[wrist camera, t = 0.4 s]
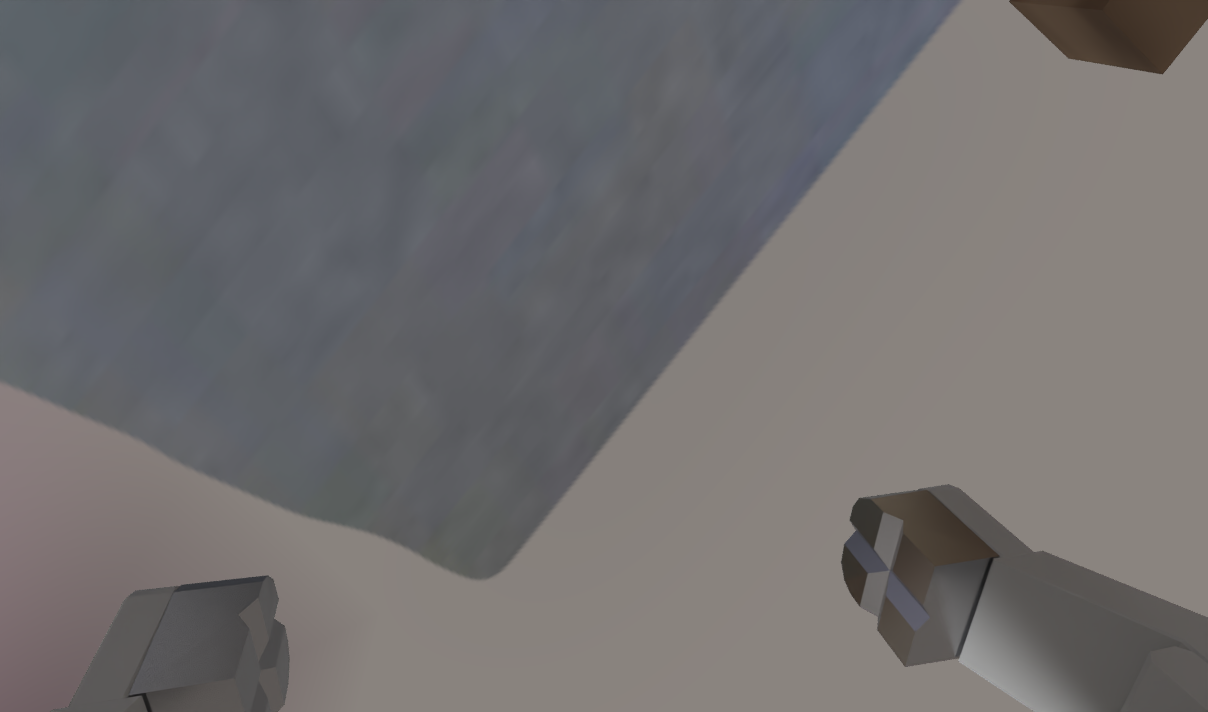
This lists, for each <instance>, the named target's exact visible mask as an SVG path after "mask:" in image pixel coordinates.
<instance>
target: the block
mask: <svg viewBox="0 0 1208 712" xmlns="http://www.w3.org/2000/svg"><path fill="white" fill-rule="evenodd" d="M1009 2H1010V3H1011V4H1012V5H1013V6H1014V7H1015V8H1016V9H1017V10H1019V11H1020V12H1021V13H1022V14H1023V15H1024V16H1025V17H1026V18H1027V19H1028V20H1029V21H1030V22H1031V23H1032V24H1033V25H1034V26H1035V27H1036V28H1037V29H1038V30H1039V31H1040V32H1041V33H1043V34H1044V35H1045V36H1046V37H1047V38H1048V39H1049V40H1050V41H1051V42H1052V43H1053V44H1054V45H1055V46H1056V47H1057V48H1058V49H1059V50H1060V51H1061V52H1062V53H1063V54H1064V55H1066V56H1067V57H1068V58H1069V59H1075V60H1081V61H1087V62H1093V63H1099V64H1105V65H1112V66H1117V67H1122V68H1128V69H1134V70H1140V71H1146V72H1153V73H1158V74H1163V73H1164V72H1165V71H1166V70H1167V68H1168V67H1169V66H1170V65H1171V63H1172V62H1173V61H1174V60H1175V58H1176V57H1177V56H1178V55H1179V54H1180V52H1181V51H1182V50H1183V48H1184V47H1185V46H1186V45H1187V44H1188V42H1189V41H1190V40H1191V39H1192V37H1193V36H1194V35H1195V34H1196V33H1197V31H1198V30H1199V28H1201V26H1202V25H1203V24H1204V22H1205V21H1206V20H1207V19H1208V0H1010V1H1009Z"/></svg>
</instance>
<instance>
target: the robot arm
mask: <svg viewBox="0 0 1208 712" xmlns="http://www.w3.org/2000/svg"><path fill="white" fill-rule="evenodd" d="M850 521H851V523H852V525H853V526H854V528H855V529H856V531H855V532H854V534H853V535H852V536H851V537H850V538H849V539H848V540H847V541H846V543H845V544H844V549H843V554H842V561H841V564H842V570H843V575H844V581H845V583H846V585H847V587H848V589H849V592H850V593H851V595H852V597H853V598H854V599H855V601H856V602H857V604H858V605H859V606H860V607H861V608H863V609H865V610H867V611H869V612H870V613H872V614H874V615H876V616H877V617H878V627H877V629H878V632H879V633H880V634H881V636H882V637H883V638H884V640H885V641H886V642H887V644H888V645H889V646H890V648H891V649H892V650H893V652H895V654H896V655H897V657H898V658H899V659H900V661H901V662H902V663H903V665H904V666H905V667H908V666H914V665H920V664H926V663H932V662H938V661H945V660H950V659H957V658H959V662H960V663H962V664H963V665H965V666H966V667H968V668H969V669H971V670H972V671H974V672H975V673H977V674H978V675H980V676H981V677H983V678H984V679H986V680H987V681H989V682H990V683H992V684H993V685H995V686H996V687H998V688H999V689H1001V690H1002V691H1004V692H1006V693H1007V694H1008V695H1010V696H1011V697H1013V698H1014V699H1016V700H1017V701H1019V702H1020V703H1022V704H1023V705H1025V706H1027V707H1028V708H1029V709H1031V710H1032V711H1034V712H1208V617H1205V616H1203V615H1200V614H1198V613H1195V612H1193V611H1190V610H1188V609H1185V608H1183V607H1180V606H1178V605H1175V604H1173V603H1170V602H1168V601H1165V600H1163V599H1161V598H1158V597H1156V596H1153V595H1151V594H1148V593H1146V592H1143V591H1140V590H1138V589H1136V588H1133V587H1131V586H1128V585H1126V584H1123V583H1121V582H1118V581H1115V580H1114V579H1111V578H1109V577H1106V576H1104V575H1101V574H1099V573H1096V572H1094V571H1091V570H1089V569H1086V568H1084V567H1081V566H1079V565H1076V564H1074V563H1072V562H1069V561H1066V560H1064V559H1062V558H1059V557H1057V556H1054V555H1052V554H1049V553H1047V552H1044V551H1039V552H1033V551H1032V550H1031V549H1030V548H1028V547H1027V546H1026V545H1025V544H1024V543H1023V542H1021V541H1020V540H1019V539H1018V538H1017V537H1016V536H1014V535H1013V534H1012V533H1011V532H1010V531H1009V530H1007V529H1006V528H1005V527H1004V526H1003V525H1002V524H1000V523H999V522H998V521H997V520H996V519H995V518H993V517H992V516H991V515H990V514H989V513H987V512H986V511H985V510H984V509H983V508H982V507H980V506H979V505H978V504H977V503H976V502H975V501H973V500H972V499H971V498H970V497H969V496H968V495H967V494H965V493H964V492H963V491H962V490H961V489H959V488H957V487H954V486H951V485H949V484H948V485H941V486H935V487H928V488H922V489H918V490H913V491H906V492H899V493H891V494H884V495H877V496H871V497H863V498H859V499H858V500H857V502H856V503H855V505H854V506H853V508H852V513H851V516H850ZM278 600H279V598H278V595H277V591H276V587H275V584H274V580H273V579H272V578H271V577H269V576H259V577H249V578H241V579H231V580H222V581H213V582H204V583H195V584H186V585H181V586H174V587H165V588H156V589H147V590H138V591H135V592H133V593H132V594H131V595H130V596H128V597H127V598H126V599H125V600H124V601H123V603H122V605H121V607H120V609H119V611H118V613H117V615H116V617H115V619H114V620H113V622H112V624H111V626H110V628H109V630H108V632H107V634H106V636H105V638H104V639H103V641H102V643H101V645H100V647H99V649H98V651H97V653H96V655H95V657H94V659H93V660H92V662H91V664H90V666H89V668H88V670H87V672H86V674H85V676H84V677H83V679H82V681H81V683H80V685H79V687H78V689H77V691H76V693H75V695H74V696H73V698H72V700H71V702H70V704H69V706H68V707H66V708H61V709H54V710H52V711H50V712H278V711H279V710H280V709H281V708H282V707H283V705H284V703H285V698H286V693H287V688H288V678H289V648H288V639H287V634H286V629H285V626H284V625H283V624H281V623H280V622H278V621H277V620H275V619H274V617H275V613H276V608H277V604H278Z"/></svg>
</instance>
